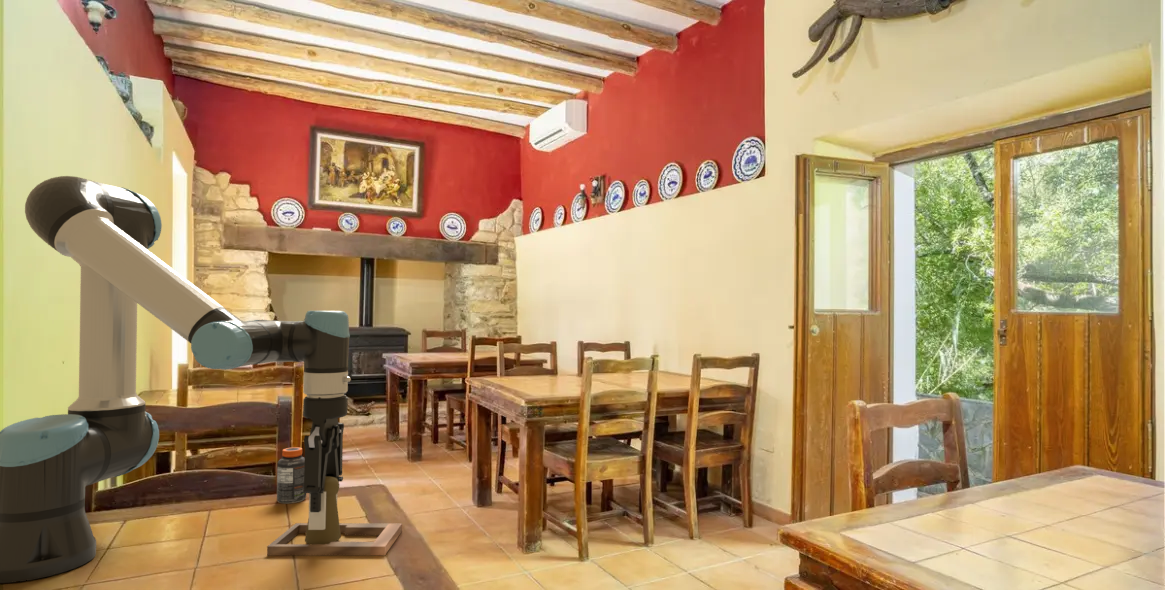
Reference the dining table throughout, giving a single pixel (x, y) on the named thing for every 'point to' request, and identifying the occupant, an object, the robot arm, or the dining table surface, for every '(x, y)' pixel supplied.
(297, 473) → the pill bottle
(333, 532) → the olive rounded upright piece
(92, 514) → the dining table surface
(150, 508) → the dining table surface
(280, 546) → the keyhole board
